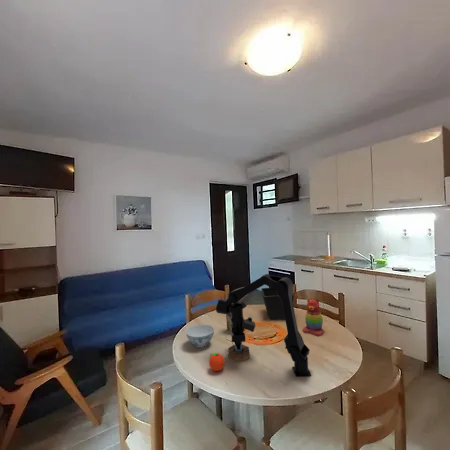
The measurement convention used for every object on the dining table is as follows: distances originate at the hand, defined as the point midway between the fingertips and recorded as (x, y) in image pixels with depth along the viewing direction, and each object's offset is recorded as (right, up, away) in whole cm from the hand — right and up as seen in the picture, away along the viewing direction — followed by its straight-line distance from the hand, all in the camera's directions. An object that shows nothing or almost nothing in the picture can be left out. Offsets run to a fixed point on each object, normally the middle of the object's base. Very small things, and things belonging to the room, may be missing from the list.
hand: (238, 347), depth 125 cm
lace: (-3, -4, +12) cm, 13 cm away
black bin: (+29, -2, +48) cm, 56 cm away
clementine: (-10, -5, -10) cm, 15 cm away
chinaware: (-20, -5, +13) cm, 24 cm away
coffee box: (-1, -4, +27) cm, 27 cm away
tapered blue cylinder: (0, -2, 0) cm, 2 cm away
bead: (0, -4, 0) cm, 4 cm away
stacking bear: (+44, -2, +22) cm, 50 cm away
